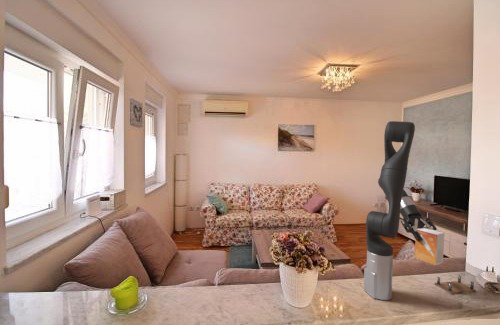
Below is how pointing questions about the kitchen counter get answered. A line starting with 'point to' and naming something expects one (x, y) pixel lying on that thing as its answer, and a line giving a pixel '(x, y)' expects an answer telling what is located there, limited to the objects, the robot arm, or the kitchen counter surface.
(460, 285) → the pin plate
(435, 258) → the small box
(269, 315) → the kitchen counter surface
